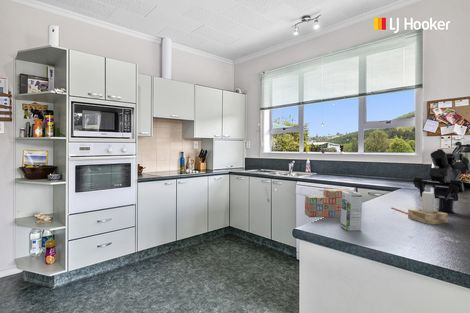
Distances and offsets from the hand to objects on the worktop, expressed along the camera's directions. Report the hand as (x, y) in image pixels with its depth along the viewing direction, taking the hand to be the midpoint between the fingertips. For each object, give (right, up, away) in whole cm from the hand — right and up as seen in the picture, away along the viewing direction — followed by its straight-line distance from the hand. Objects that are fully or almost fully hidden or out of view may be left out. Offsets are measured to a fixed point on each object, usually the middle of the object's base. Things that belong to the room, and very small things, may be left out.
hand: (432, 198), depth 119 cm
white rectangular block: (-6, -9, -4) cm, 12 cm away
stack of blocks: (-47, -9, +2) cm, 48 cm away
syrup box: (-46, -9, -17) cm, 50 cm away
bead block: (-6, -9, -4) cm, 12 cm away
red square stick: (-8, -9, +11) cm, 16 cm away
